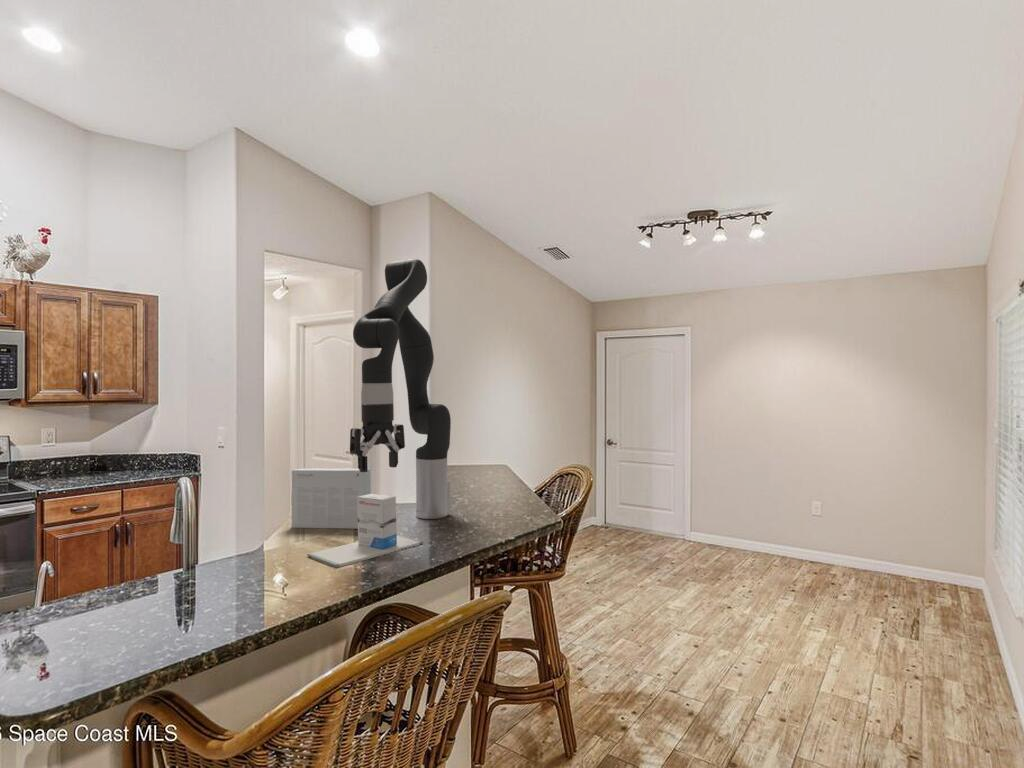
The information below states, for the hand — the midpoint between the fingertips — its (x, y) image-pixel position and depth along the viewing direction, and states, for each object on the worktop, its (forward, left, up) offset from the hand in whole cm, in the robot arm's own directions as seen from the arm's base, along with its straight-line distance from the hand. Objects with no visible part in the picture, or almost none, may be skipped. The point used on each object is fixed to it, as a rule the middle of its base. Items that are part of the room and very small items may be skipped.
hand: (378, 469), depth 139 cm
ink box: (0, 0, -18) cm, 18 cm away
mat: (+3, 0, -19) cm, 19 cm away
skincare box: (-4, -27, -19) cm, 33 cm away
